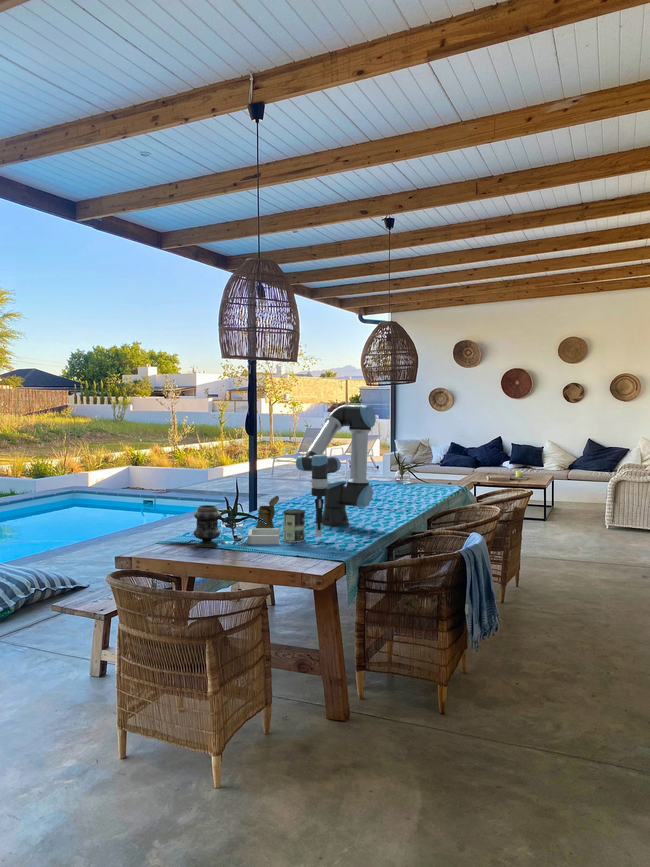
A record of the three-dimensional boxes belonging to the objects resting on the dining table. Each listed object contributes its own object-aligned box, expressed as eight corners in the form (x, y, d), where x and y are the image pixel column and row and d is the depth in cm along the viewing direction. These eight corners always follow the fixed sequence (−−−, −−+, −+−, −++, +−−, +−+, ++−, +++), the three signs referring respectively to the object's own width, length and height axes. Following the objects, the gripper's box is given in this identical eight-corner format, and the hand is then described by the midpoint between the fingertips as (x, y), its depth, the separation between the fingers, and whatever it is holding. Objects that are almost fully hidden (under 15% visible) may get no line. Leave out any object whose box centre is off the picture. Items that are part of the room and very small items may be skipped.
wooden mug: (270, 531, 314) (271, 496, 313) (252, 527, 323) (252, 493, 322) (283, 529, 321) (283, 494, 320) (264, 525, 329) (265, 491, 328)
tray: (279, 536, 303) (279, 528, 303) (279, 544, 287) (279, 535, 287) (249, 536, 302) (249, 528, 302) (247, 544, 286) (247, 535, 286)
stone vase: (224, 546, 282) (224, 507, 281) (198, 549, 276) (198, 509, 275) (215, 541, 292) (215, 503, 291) (190, 543, 286) (190, 505, 285)
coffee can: (304, 537, 301) (304, 509, 300) (304, 542, 291) (305, 513, 290) (283, 537, 301) (283, 509, 300) (282, 542, 290) (283, 513, 290)
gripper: (310, 485, 301) (310, 533, 303) (312, 489, 288) (311, 539, 290) (326, 485, 302) (325, 533, 303) (328, 489, 289) (327, 539, 290)
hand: (318, 536), depth 296 cm, fingers closed
